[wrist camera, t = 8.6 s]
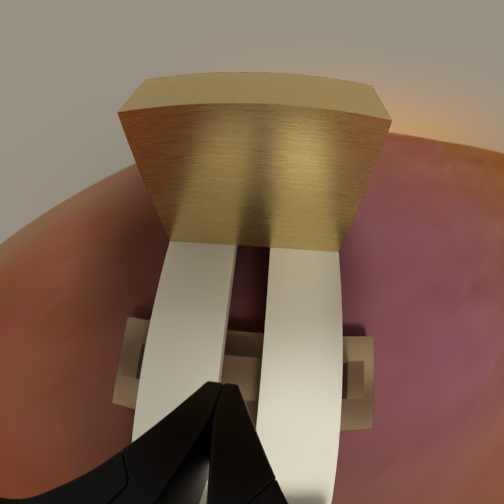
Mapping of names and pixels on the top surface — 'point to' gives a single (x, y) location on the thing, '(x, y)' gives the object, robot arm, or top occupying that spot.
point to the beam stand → (257, 371)
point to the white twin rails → (273, 360)
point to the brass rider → (256, 155)
